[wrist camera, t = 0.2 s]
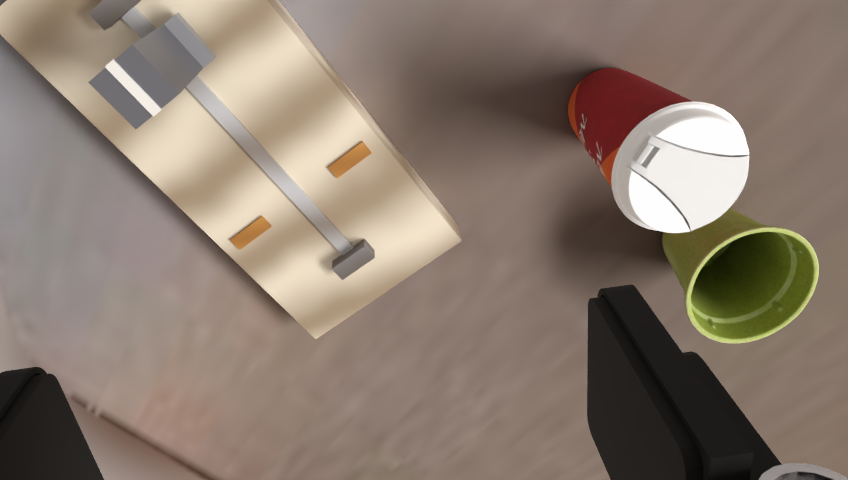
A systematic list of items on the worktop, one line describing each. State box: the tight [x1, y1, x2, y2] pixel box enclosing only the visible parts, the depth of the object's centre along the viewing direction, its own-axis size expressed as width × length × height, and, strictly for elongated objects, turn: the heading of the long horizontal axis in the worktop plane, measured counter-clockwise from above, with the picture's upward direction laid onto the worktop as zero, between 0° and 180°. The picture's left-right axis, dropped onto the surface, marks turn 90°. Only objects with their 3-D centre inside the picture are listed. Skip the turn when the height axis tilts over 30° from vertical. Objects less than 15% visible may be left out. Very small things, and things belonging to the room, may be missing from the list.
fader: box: [88, 12, 217, 129], centre depth 37 cm, size 3×5×7 cm, turn 126°
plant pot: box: [662, 208, 819, 343], centre depth 50 cm, size 9×9×9 cm
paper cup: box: [568, 68, 749, 233], centre depth 42 cm, size 8×8×14 cm
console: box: [0, 0, 462, 339], centre depth 45 cm, size 30×14×4 cm, turn 36°
